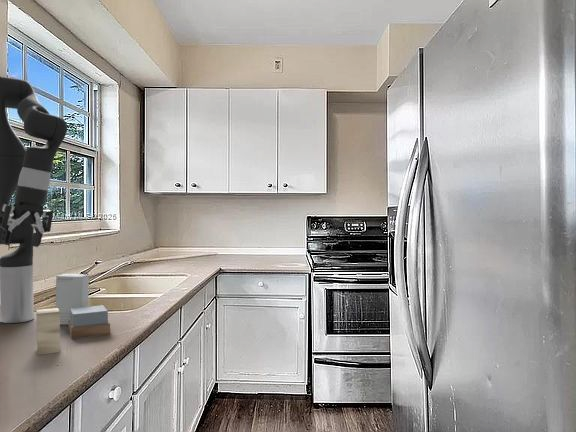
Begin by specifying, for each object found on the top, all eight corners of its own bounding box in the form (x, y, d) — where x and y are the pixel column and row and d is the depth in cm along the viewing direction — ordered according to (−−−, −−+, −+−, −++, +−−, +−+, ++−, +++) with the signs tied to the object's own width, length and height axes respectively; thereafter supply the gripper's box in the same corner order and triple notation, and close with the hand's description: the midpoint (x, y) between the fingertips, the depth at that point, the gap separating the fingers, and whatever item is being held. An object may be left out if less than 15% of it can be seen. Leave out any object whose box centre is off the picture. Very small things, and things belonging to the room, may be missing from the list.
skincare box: (54, 325, 153) (53, 276, 153) (62, 320, 159) (61, 273, 159) (82, 324, 154) (82, 275, 153) (89, 320, 160) (89, 272, 159)
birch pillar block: (37, 349, 128) (36, 309, 128) (58, 346, 131) (58, 307, 130) (37, 354, 124) (37, 313, 124) (60, 351, 126) (59, 311, 126)
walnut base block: (68, 332, 147) (68, 320, 147) (105, 328, 151) (104, 316, 151) (71, 340, 138) (71, 327, 138) (110, 335, 143) (110, 323, 142)
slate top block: (70, 320, 146) (70, 308, 146) (103, 316, 151) (103, 305, 151) (73, 327, 138) (72, 314, 138) (107, 323, 143) (107, 310, 143)
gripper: (47, 188, 145) (35, 244, 145) (-1, 180, 133) (-14, 241, 132) (64, 192, 142) (52, 249, 141) (17, 183, 129) (4, 246, 129)
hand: (20, 245), depth 137 cm, fingers open, 8 cm apart
